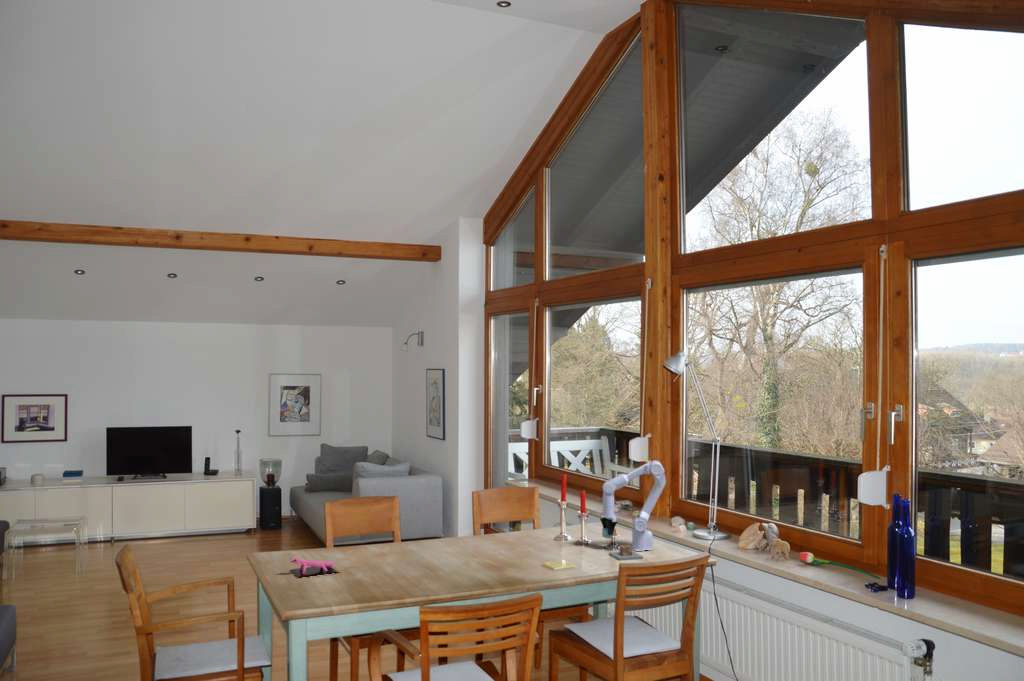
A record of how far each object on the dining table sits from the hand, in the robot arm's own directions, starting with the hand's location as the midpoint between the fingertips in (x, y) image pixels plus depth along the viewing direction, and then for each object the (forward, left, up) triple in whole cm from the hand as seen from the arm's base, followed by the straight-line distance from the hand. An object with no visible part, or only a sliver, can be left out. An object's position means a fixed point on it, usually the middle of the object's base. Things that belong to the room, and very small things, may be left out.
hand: (608, 533), depth 406 cm
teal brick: (0, 0, -2) cm, 2 cm away
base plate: (-1, +18, -7) cm, 19 cm away
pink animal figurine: (+142, +7, -8) cm, 142 cm away
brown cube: (-1, +18, -6) cm, 19 cm away
